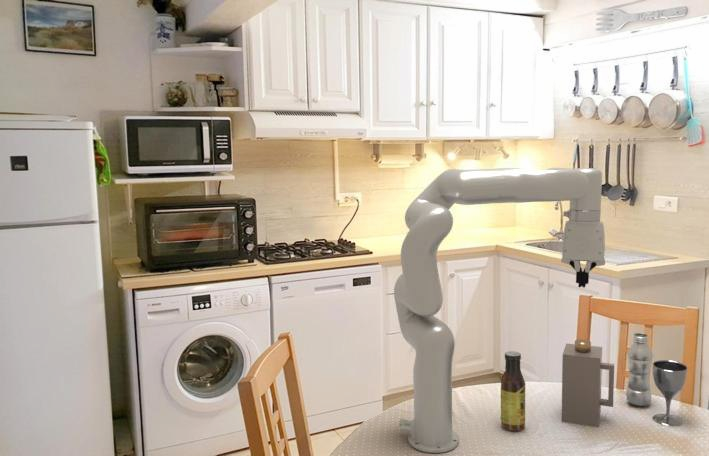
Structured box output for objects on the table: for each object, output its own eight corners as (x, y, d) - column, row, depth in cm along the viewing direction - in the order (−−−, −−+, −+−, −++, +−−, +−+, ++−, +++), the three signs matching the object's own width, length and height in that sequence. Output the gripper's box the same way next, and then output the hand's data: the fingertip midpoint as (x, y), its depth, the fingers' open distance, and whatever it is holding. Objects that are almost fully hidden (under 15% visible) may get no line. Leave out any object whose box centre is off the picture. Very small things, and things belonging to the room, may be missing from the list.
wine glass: (683, 416, 165) (686, 362, 163) (685, 428, 158) (688, 372, 156) (650, 411, 169) (652, 358, 167) (651, 423, 162) (653, 368, 159)
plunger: (565, 414, 165) (567, 344, 162) (568, 404, 171) (569, 336, 168) (594, 419, 162) (596, 347, 159) (596, 408, 168) (598, 339, 166)
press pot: (561, 421, 164) (562, 354, 162) (565, 407, 173) (566, 343, 170) (612, 429, 159) (614, 359, 157) (613, 414, 168) (615, 348, 165)
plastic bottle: (621, 404, 174) (623, 335, 171) (632, 397, 178) (634, 330, 175) (644, 411, 169) (647, 340, 166) (655, 403, 173) (658, 334, 171)
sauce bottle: (526, 433, 159) (526, 358, 156) (500, 431, 160) (501, 357, 157) (524, 421, 165) (524, 350, 162) (500, 420, 166) (500, 349, 164)
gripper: (552, 217, 159) (550, 287, 161) (615, 219, 153) (612, 292, 155) (556, 213, 165) (553, 281, 168) (616, 215, 159) (613, 285, 162)
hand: (582, 286), depth 161 cm, fingers closed
